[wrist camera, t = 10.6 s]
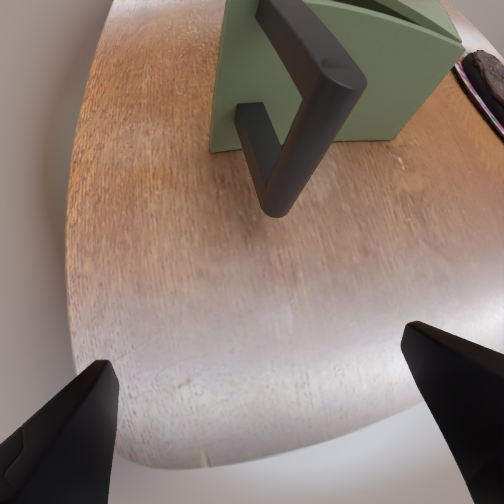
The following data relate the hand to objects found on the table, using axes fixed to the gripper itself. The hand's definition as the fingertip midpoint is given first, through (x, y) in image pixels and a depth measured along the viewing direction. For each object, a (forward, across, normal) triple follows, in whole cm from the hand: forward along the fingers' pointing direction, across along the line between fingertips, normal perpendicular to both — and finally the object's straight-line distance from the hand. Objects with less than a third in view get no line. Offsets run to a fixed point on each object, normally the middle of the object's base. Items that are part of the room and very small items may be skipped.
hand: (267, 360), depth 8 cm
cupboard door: (+14, -7, -3) cm, 16 cm away
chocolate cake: (+29, -50, -15) cm, 59 cm away
